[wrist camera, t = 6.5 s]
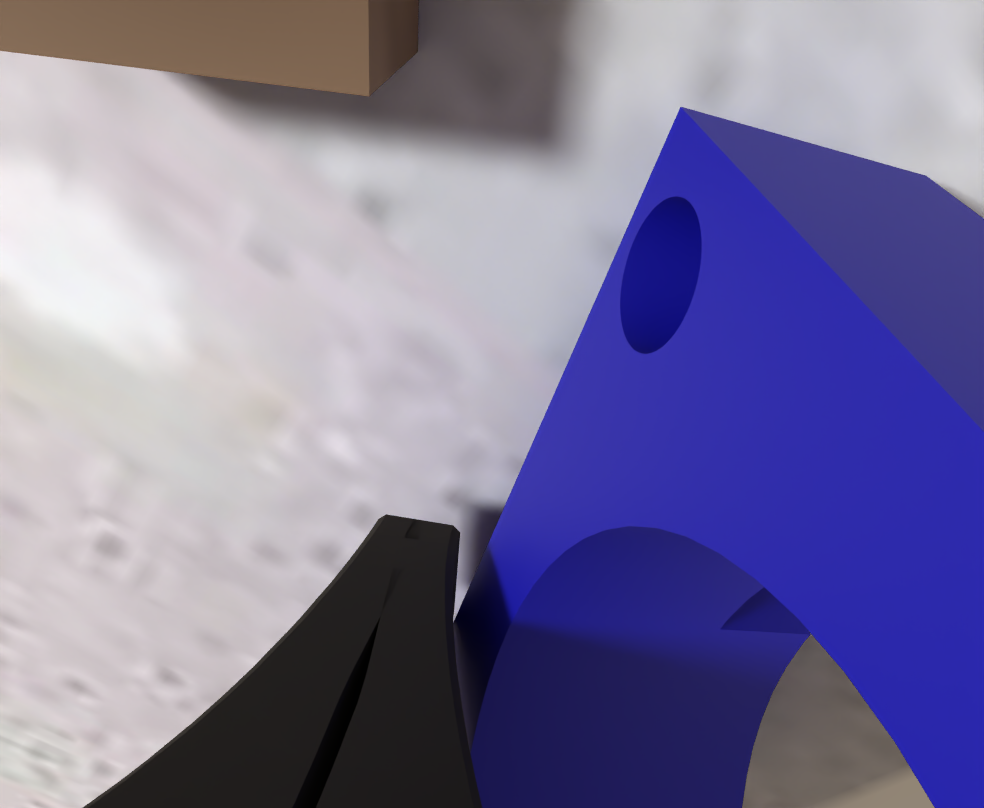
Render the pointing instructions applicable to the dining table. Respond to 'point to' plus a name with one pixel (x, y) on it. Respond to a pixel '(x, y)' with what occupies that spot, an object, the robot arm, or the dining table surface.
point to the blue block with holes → (744, 488)
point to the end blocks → (225, 37)
